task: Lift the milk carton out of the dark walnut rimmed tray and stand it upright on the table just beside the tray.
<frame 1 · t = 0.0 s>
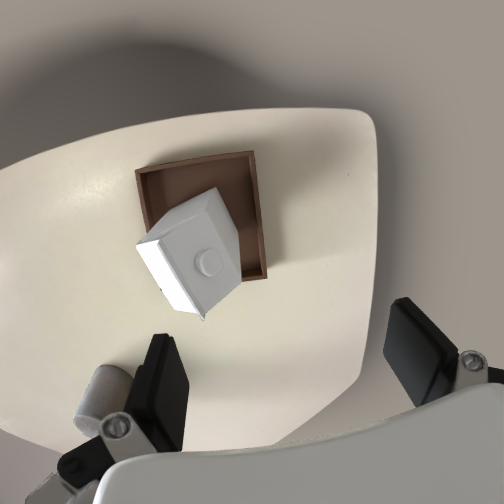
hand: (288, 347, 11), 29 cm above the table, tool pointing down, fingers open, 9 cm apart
pillar candle: (115, 380, 49), on the table
tray: (204, 219, 39), on the table
milk carton: (204, 220, 38), resting on tray
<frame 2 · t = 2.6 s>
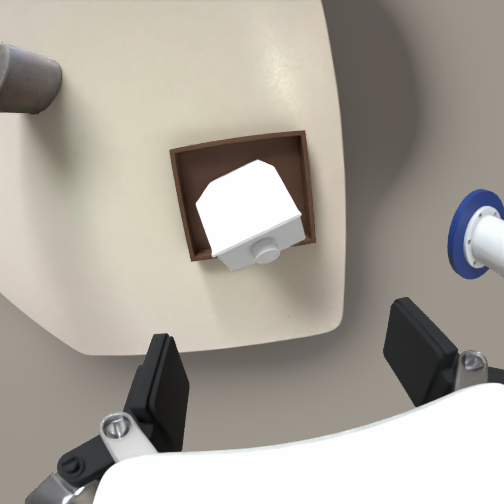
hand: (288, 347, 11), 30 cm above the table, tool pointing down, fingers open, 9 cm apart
pillar candle: (40, 86, 29), on the table
tray: (244, 193, 38), on the table
milk carton: (244, 193, 38), resting on tray
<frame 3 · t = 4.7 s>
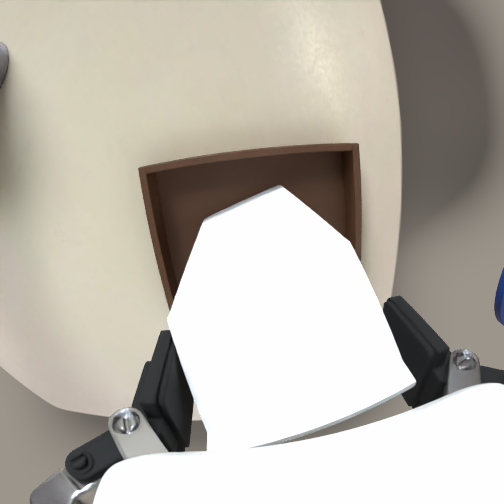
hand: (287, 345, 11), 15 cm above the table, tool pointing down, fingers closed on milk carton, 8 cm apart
tray: (257, 235, 25), on the table
milk carton: (258, 236, 25), resting on tray, touching gripper
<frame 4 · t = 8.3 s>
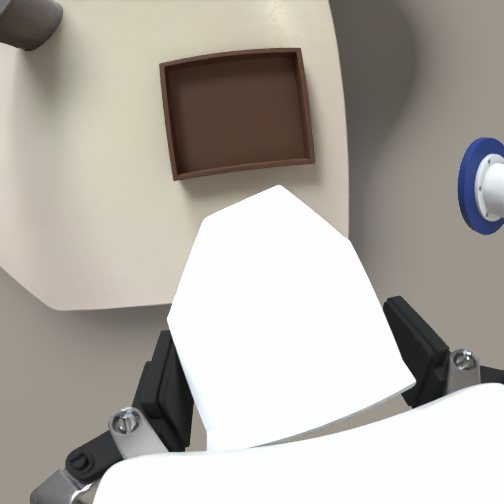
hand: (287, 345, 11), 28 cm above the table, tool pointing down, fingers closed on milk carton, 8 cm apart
pillar candle: (40, 26, 23), on the table
tray: (236, 111, 33), on the table
milk carton: (257, 236, 25), point 13 cm above the table, touching gripper
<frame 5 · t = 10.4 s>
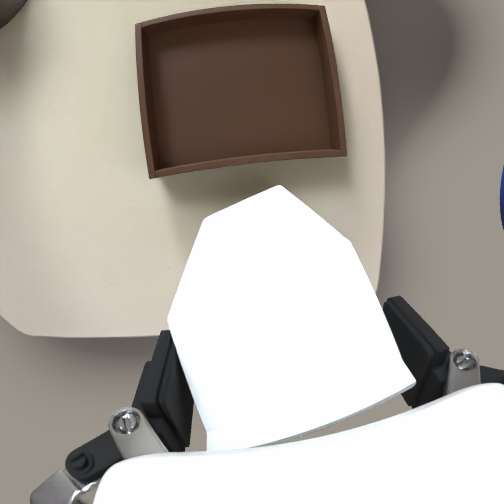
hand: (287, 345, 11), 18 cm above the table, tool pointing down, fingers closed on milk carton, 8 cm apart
pillar candle: (10, 2, 13), on the table
tray: (238, 84, 23), on the table
milk carton: (257, 236, 25), point 3 cm above the table, touching gripper
when the fingers open (15 cm above the table, at t = 12.0 s): milk carton stays where it is, on the table.
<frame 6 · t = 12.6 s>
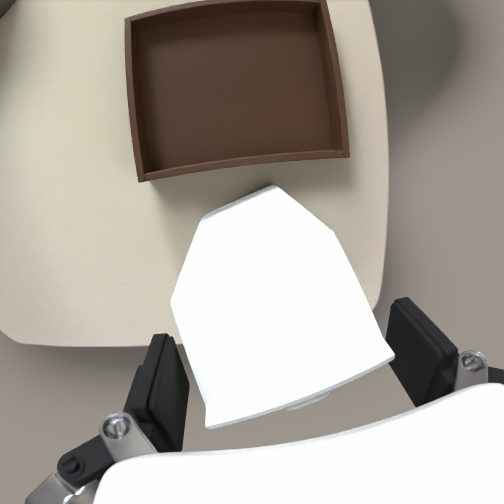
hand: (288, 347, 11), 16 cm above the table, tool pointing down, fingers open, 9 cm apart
pillar candle: (0, 0, 11), on the table
tray: (233, 81, 21), on the table
milk carton: (253, 233, 26), on the table
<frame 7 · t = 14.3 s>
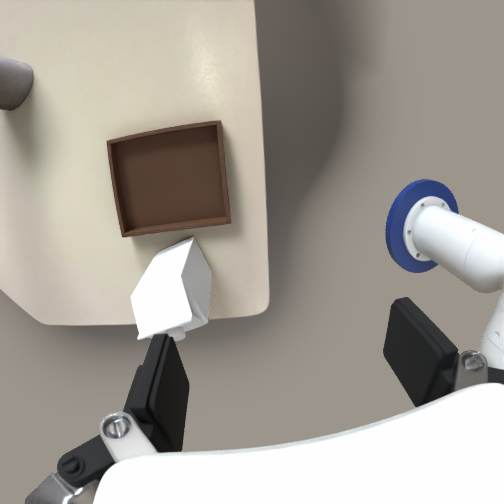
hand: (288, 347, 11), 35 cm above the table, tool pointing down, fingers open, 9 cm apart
pillar candle: (16, 86, 31), on the table
tray: (170, 178, 41), on the table
milk carton: (184, 262, 47), on the table
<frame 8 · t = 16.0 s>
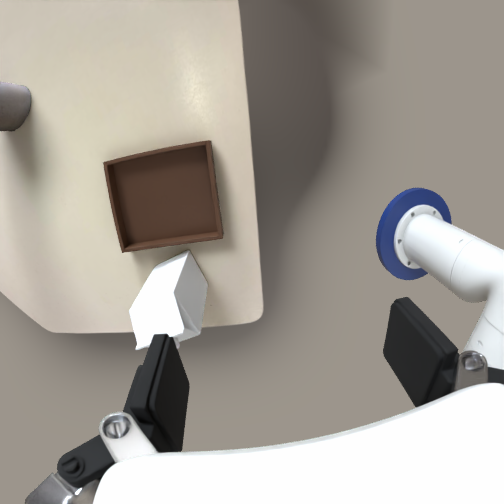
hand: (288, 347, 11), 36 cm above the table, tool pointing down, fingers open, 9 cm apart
pillar candle: (16, 107, 35), on the table
tray: (165, 195, 44), on the table
milk carton: (181, 274, 49), on the table
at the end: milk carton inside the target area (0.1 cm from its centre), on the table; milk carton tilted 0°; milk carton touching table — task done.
